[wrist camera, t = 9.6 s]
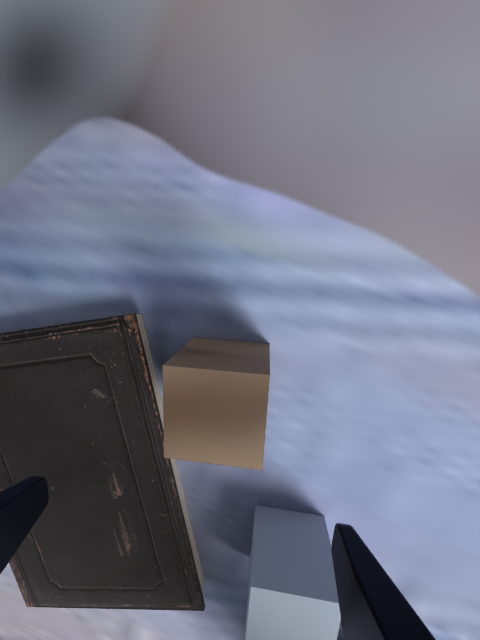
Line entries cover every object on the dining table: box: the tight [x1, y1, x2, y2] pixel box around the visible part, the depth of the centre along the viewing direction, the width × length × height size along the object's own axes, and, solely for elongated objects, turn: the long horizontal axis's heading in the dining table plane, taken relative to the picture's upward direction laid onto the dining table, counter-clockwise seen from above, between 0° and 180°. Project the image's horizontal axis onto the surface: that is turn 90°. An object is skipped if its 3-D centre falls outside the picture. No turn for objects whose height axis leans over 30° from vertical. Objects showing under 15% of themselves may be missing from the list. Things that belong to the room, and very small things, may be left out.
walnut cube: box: [163, 337, 270, 470], centre depth 14 cm, size 5×5×5 cm
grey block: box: [245, 505, 341, 640], centre depth 17 cm, size 5×5×5 cm
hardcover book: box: [0, 313, 205, 611], centre depth 19 cm, size 16×23×2 cm
